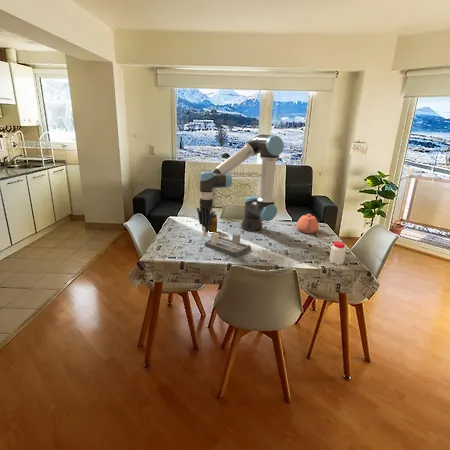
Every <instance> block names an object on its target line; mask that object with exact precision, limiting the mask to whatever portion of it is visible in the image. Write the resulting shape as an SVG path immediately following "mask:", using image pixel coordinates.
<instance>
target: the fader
mask: <svg viewBox="0 0 450 450" xmlns="http://www.w3.org/2000/svg"><path fill="white" fill-rule="evenodd" d="M219 236H220V234H219V232H217V233H215V232H214V233H211V234H210V240H211V243H213V244H218V241H219Z"/></svg>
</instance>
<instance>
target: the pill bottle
mask: <svg viewBox="0 0 450 450" xmlns="http://www.w3.org/2000/svg"><path fill="white" fill-rule="evenodd" d="M345 245H346V243H344V242H342V241H334V242H333V245H331V247H330V252H329V259H328V261H329V260H330V261H331V262H334V263H343V262H344V263H345V257H346V254H347V253H346V252H347V247H345ZM331 262H330V263H331Z"/></svg>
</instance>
